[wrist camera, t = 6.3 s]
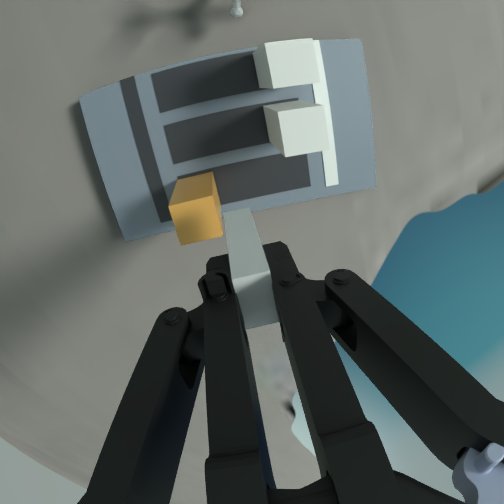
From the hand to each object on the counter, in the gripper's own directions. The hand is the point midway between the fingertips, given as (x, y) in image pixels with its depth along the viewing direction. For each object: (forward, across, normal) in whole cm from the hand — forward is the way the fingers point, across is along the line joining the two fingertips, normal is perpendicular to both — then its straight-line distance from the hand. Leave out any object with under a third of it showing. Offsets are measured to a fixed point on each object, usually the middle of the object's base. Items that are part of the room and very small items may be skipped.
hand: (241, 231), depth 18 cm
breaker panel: (+12, +1, +4) cm, 12 cm away
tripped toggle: (+9, -3, 0) cm, 10 cm away
